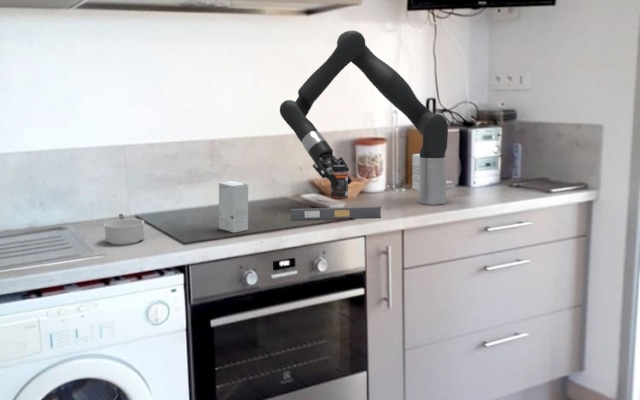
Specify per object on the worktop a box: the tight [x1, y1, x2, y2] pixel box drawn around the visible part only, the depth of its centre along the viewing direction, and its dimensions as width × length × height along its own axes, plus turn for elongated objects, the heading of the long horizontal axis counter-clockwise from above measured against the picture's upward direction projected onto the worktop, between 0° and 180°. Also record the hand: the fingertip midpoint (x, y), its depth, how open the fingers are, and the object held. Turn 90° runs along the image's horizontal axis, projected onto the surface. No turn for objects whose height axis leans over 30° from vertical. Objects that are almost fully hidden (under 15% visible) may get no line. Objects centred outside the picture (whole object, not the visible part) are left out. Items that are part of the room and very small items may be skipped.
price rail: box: [290, 206, 382, 221], centre depth 213 cm, size 30×2×4 cm, turn 94°
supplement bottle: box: [330, 165, 349, 201], centre depth 217 cm, size 6×6×11 cm
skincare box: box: [218, 180, 249, 233], centre depth 199 cm, size 8×6×15 cm
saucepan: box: [103, 213, 145, 246], centre depth 190 cm, size 12×20×6 cm, turn 21°
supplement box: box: [411, 153, 420, 192], centre depth 267 cm, size 9×9×15 cm
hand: (343, 184), depth 216 cm, fingers closed on supplement bottle, 6 cm apart
